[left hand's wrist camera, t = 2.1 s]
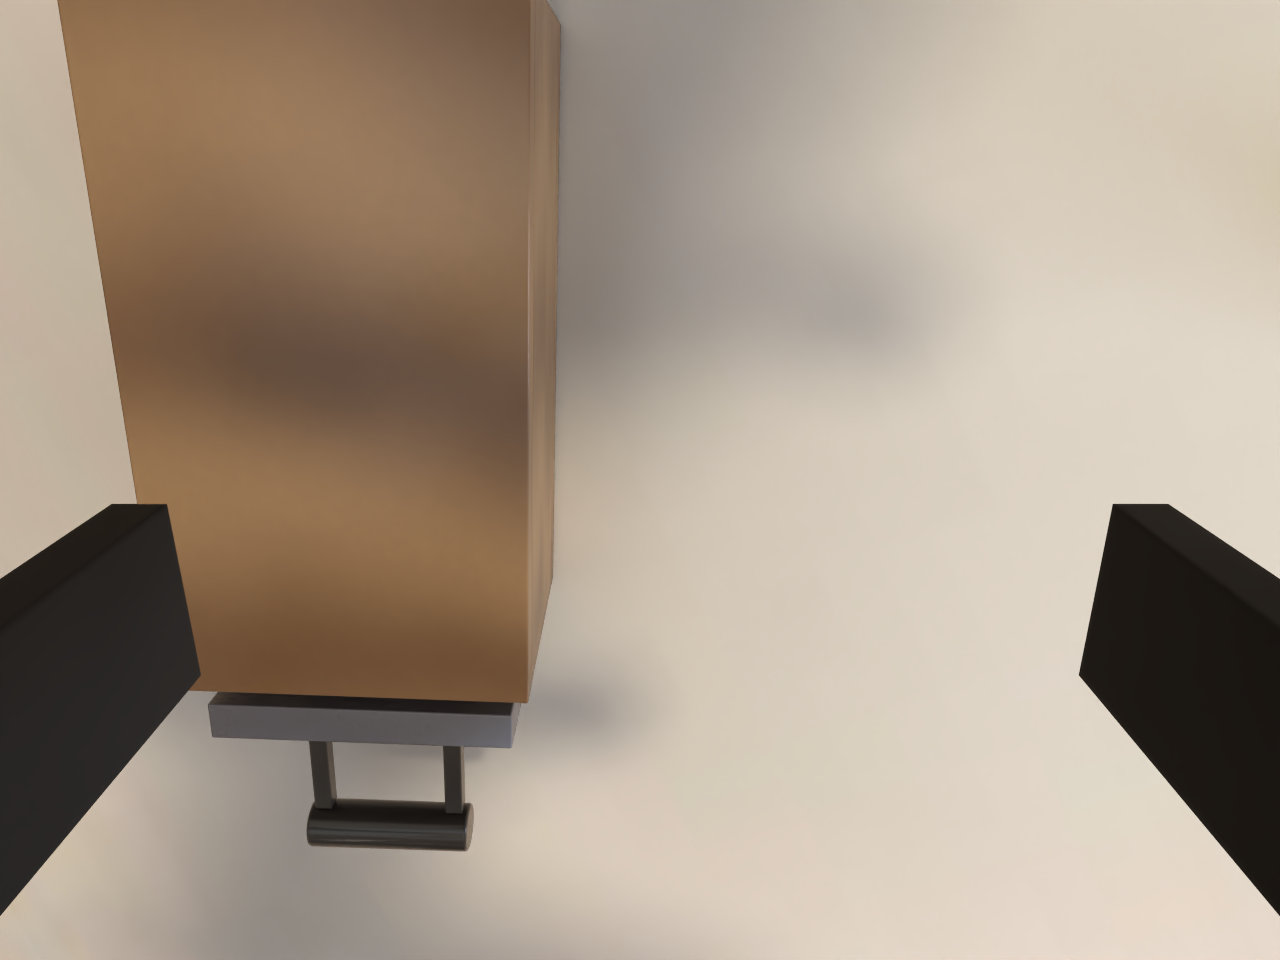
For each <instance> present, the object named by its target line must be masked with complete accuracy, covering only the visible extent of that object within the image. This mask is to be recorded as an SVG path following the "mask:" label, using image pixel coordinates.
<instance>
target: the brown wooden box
mask: <svg viewBox="0 0 1280 960" xmlns="http://www.w3.org/2000/svg"><path fill="white" fill-rule="evenodd" d="M58 7H59V13H60V19H61V25H62V32H63V38H64V44H65V51H66V57H67V63H68V70H69V76H70V82H71V89H72V95H73V101H74V107H75V114H76V120H77V126H78V133H79V139H80V145H81V152H82V158H83V164H84V171H85V177H86V183H87V189H88V196H89V202H90V208H91V215H92V221H93V227H94V234H95V240H96V246H97V252H98V259H99V265H100V271H101V278H102V284H103V290H104V297H105V303H106V309H107V316H108V322H109V328H110V334H111V341H112V347H113V353H114V360H115V366H116V372H117V379H118V385H119V391H120V398H121V404H122V410H123V416H124V423H125V429H126V435H127V442H128V448H129V454H130V461H131V467H132V473H133V479H134V486H135V492H136V498H137V504H167V506H168V511H169V516H170V521H171V526H172V531H173V536H174V541H175V546H176V552H177V557H178V562H179V567H180V572H181V577H182V582H183V587H184V592H185V597H186V602H187V607H188V612H189V617H190V622H191V627H192V632H193V637H194V642H195V647H196V652H197V657H198V662H199V667H200V672H201V676H200V677H199V678H198V679H197V681H196V682H195V683H194V684H193V685H192V687H191V688H190V689H189V690H190V691H217V692H243V693H270V694H297V695H323V696H350V697H376V698H403V699H429V700H456V701H482V702H509V703H527V702H528V700H529V695H530V690H531V683H532V679H533V674H534V669H535V664H536V659H537V654H538V649H539V644H540V639H541V634H542V629H543V624H544V619H545V614H546V609H547V604H548V599H549V594H550V589H551V583H552V578H553V526H554V456H555V385H556V315H557V244H558V174H559V103H560V32H561V25H560V23H559V21H558V19H557V17H556V16H555V14H554V12H553V10H552V9H551V7H550V5H549V4H548V2H547V0H58Z"/></svg>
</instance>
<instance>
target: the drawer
mask: <svg viewBox="0 0 1280 960" xmlns="http://www.w3.org/2000/svg"><path fill="white" fill-rule="evenodd" d="M520 706H521V703H509V702H482V701H456V700H429V699H403V698H376V697H350V696H323V695H297V694H270V693H243V692H217V694H216V695H215V696H214V698H213V699H212V700H211V701H210V703H209V704H208V709H209V716H210V723H211V731H212V736H213V737H219V738H246V739H273V740H301V741H309V745H310V755H311V766H312V776H313V786H314V797H315V801H314V803H313V805H312V807H311V810H310V813H309V817H308V822H307V840H308V843H309V845H311V846H320V847H349V848H378V849H407V850H436V851H467V850H468V849H469V846H470V843H471V838H472V831H473V819H474V811H473V806H472V804H471V803H465V775H464V747H491V748H511V747H512V744H513V739H514V734H515V730H516V725H517V720H518V715H519V711H520ZM332 742H355V743H382V744H410V745H437V746H443V756H444V785H445V802H427V801H398V800H370V799H342V798H337V793H336V782H335V770H334V759H333V747H332Z"/></svg>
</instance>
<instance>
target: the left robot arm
mask: <svg viewBox="0 0 1280 960" xmlns="http://www.w3.org/2000/svg"><path fill="white" fill-rule="evenodd" d="M200 676H201V672H200V667H199V662H198V657H197V652H196V647H195V642H194V637H193V632H192V627H191V622H190V617H189V612H188V607H187V602H186V597H185V592H184V587H183V582H182V577H181V572H180V567H179V562H178V557H177V552H176V546H175V541H174V536H173V531H172V526H171V521H170V516H169V511H168V506H167V504H111V505H110V506H108V507H107V508H105V509H104V510H102V511H101V512H99V513H98V514H96V515H95V516H93V517H92V518H90V519H89V520H87V521H86V522H84V523H83V524H81V525H80V526H78V527H77V528H75V529H74V530H72V531H71V532H69V533H68V534H66V535H65V536H64V537H62V538H61V539H59V540H58V541H56V542H55V543H53V544H52V545H50V546H49V547H47V548H46V549H44V550H43V551H41V552H40V553H38V554H37V555H35V556H34V557H32V558H31V559H29V560H28V561H26V562H25V563H23V564H22V565H20V566H19V567H17V568H16V569H14V570H13V571H11V572H10V573H8V574H7V575H5V576H4V577H2V578H1V579H0V916H1V914H2V913H3V912H4V911H5V910H6V908H7V907H8V906H9V905H10V904H11V902H12V901H13V900H14V899H15V898H16V896H17V895H18V894H19V893H20V892H21V890H22V889H23V888H24V887H25V886H26V884H27V883H28V882H29V881H30V880H31V878H32V877H33V876H34V875H35V874H36V872H37V871H38V870H39V869H40V868H41V866H42V865H43V864H44V863H45V862H46V860H47V859H48V858H49V857H50V856H51V854H52V853H53V852H54V851H55V850H56V848H57V847H58V846H59V845H60V844H61V842H62V841H63V840H64V839H65V838H66V836H67V835H68V834H69V833H70V832H71V830H72V829H73V828H74V827H75V826H76V824H77V823H78V822H79V821H80V820H81V818H82V817H83V816H84V815H85V814H86V812H87V811H88V810H89V809H90V808H91V806H92V805H93V804H94V803H95V802H96V801H97V799H98V798H99V797H100V796H101V795H102V793H103V792H104V791H105V790H106V789H107V787H108V786H109V785H110V784H111V783H112V781H113V780H114V779H115V778H116V777H117V775H118V774H119V773H120V772H121V771H122V769H123V768H124V767H125V766H126V765H127V763H128V762H129V761H130V760H131V759H132V757H133V756H134V755H135V754H136V753H137V751H138V750H139V749H140V748H141V747H142V745H143V744H144V743H145V742H146V741H147V739H148V738H149V737H150V736H151V735H152V733H153V732H154V731H155V730H156V729H157V727H158V726H159V725H160V724H161V723H162V721H163V720H164V719H165V718H166V717H167V715H168V714H169V713H170V712H171V711H172V709H173V708H174V707H175V706H176V705H177V703H178V702H179V701H180V700H181V699H182V697H183V696H184V695H185V694H186V693H187V691H188V690H189V689H190V688H191V687H192V685H193V684H194V683H195V682H196V681H197V679H198V678H199V677H200ZM1079 676H1080V677H1081V678H1082V679H1083V681H1084V682H1085V683H1086V684H1087V685H1088V687H1089V688H1090V689H1091V690H1092V691H1093V693H1094V694H1095V695H1096V696H1097V697H1098V699H1099V700H1100V701H1101V702H1102V703H1103V705H1104V706H1105V707H1106V708H1107V709H1108V711H1109V712H1110V713H1111V714H1112V715H1113V717H1114V718H1115V719H1116V720H1117V721H1118V723H1119V724H1120V725H1121V726H1122V727H1123V729H1124V730H1125V731H1126V732H1127V733H1128V735H1129V736H1130V737H1131V738H1132V739H1133V741H1134V742H1135V743H1136V744H1137V745H1138V747H1139V748H1140V749H1141V750H1142V751H1143V753H1144V754H1145V755H1146V756H1147V757H1148V759H1149V760H1150V761H1151V762H1152V763H1153V765H1154V766H1155V767H1156V768H1157V769H1158V771H1159V772H1160V773H1161V774H1162V775H1163V777H1164V778H1165V779H1166V780H1167V781H1168V783H1169V784H1170V785H1171V786H1172V787H1173V789H1174V790H1175V791H1176V792H1177V793H1178V795H1179V796H1180V797H1181V798H1182V799H1183V801H1184V802H1185V803H1186V804H1187V805H1188V807H1189V808H1190V809H1191V810H1192V811H1193V812H1194V814H1195V815H1196V816H1197V817H1198V818H1199V820H1200V821H1201V822H1202V823H1203V824H1204V826H1205V827H1206V828H1207V829H1208V830H1209V832H1210V833H1211V834H1212V835H1213V836H1214V838H1215V839H1216V840H1217V841H1218V842H1219V844H1220V845H1221V846H1222V847H1223V848H1224V850H1225V851H1226V852H1227V853H1228V854H1229V856H1230V857H1231V858H1232V859H1233V860H1234V862H1235V863H1236V864H1237V865H1238V866H1239V868H1240V869H1241V870H1242V871H1243V872H1244V874H1245V875H1246V876H1247V877H1248V878H1249V880H1250V881H1251V882H1252V883H1253V884H1254V886H1255V887H1256V888H1257V889H1258V890H1259V892H1260V893H1261V894H1262V895H1263V896H1264V898H1265V899H1266V900H1267V901H1268V902H1269V904H1270V905H1271V906H1272V907H1273V908H1274V910H1275V911H1276V912H1277V913H1278V914H1279V916H1280V579H1279V578H1278V577H1276V576H1275V575H1273V574H1272V573H1270V572H1269V571H1267V570H1266V569H1264V568H1263V567H1261V566H1260V565H1258V564H1257V563H1255V562H1254V561H1252V560H1251V559H1249V558H1248V557H1246V556H1245V555H1243V554H1242V553H1240V552H1239V551H1237V550H1236V549H1234V548H1233V547H1231V546H1230V545H1228V544H1227V543H1225V542H1224V541H1222V540H1221V539H1219V538H1218V537H1216V536H1215V535H1214V534H1212V533H1211V532H1209V531H1208V530H1206V529H1205V528H1203V527H1202V526H1200V525H1199V524H1197V523H1196V522H1194V521H1193V520H1191V519H1190V518H1188V517H1187V516H1185V515H1184V514H1182V513H1181V512H1179V511H1178V510H1176V509H1175V508H1173V507H1172V506H1170V505H1169V504H1113V506H1112V511H1111V516H1110V521H1109V526H1108V531H1107V536H1106V541H1105V546H1104V552H1103V557H1102V562H1101V567H1100V572H1099V577H1098V582H1097V587H1096V592H1095V597H1094V602H1093V607H1092V612H1091V617H1090V622H1089V627H1088V632H1087V637H1086V642H1085V647H1084V652H1083V657H1082V662H1081V667H1080V672H1079Z"/></svg>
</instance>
